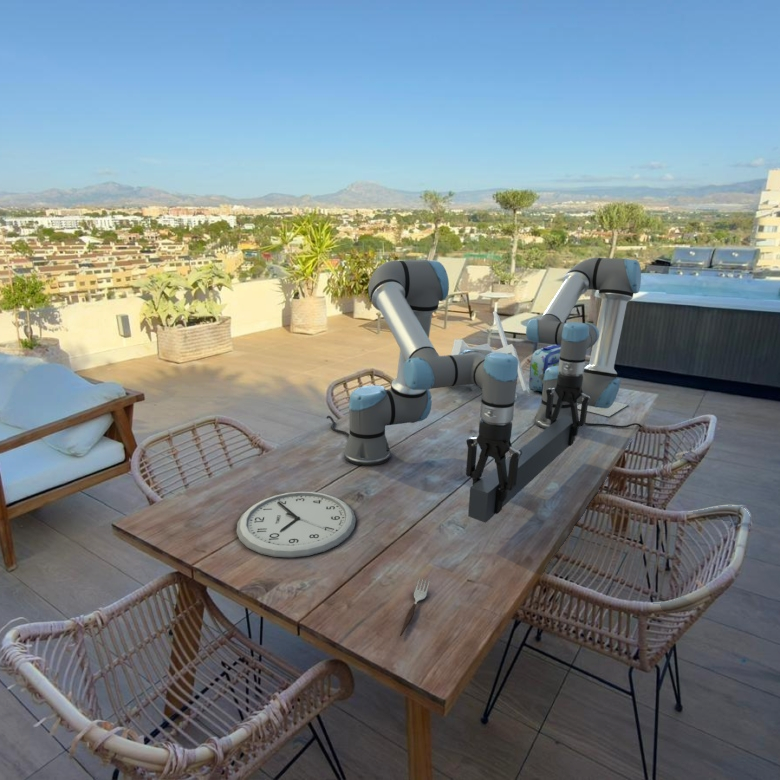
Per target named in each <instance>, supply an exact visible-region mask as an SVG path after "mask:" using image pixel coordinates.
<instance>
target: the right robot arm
mask: <svg viewBox="0 0 780 780" xmlns="http://www.w3.org/2000/svg"><path fill="white" fill-rule="evenodd" d="M641 284H642V269H641V264H640V262H639V261H638V260H637V259H630V258H614V257H612V258H610V257H592V258H588V259H585V260H582V261H580V262H579V263H577V264H575V265H574V266H573V267H571V268H570V269H569V270H568V271H567V272H566V274H565V275H564V277H563V279H562V285H561V286H560V288H559V289H558V291H557V293H556V294H555V296H554V297H553V299H552V300H551V301H550V303H549V304H548V306H547V308H546V310H545V311H544V312H543V314H542V316H541V317H540V318H539V319H538V318H532V319H530V320H529V321H528V322H527V324H526V328H525V336H526V339H527V341H529V342H534V343H538V344H547V345H560V346H561V351H560V359H559V366H553V367H550V368H548V369H546V371H545V375H544V379H543V380H544V382H543V391H542V392H541V393H542V394H541V402H540V405H539V407H538V410H537V411H536V413H535V415H534V424H535V425H536V426H537V427H539V428H542V429H543V430H545V429H546V428H548V427H549V426H550V425H551V424H553V423H554V422H555V421H557V420H558V419H559V418H561V417H562V416H563V415H568V416H572V421H573V425H572V426H570V434H569V442H568V447H571V446H572V445H573V444H574V442H575V441H574V436H576V437H577V436H578V433H579V427H583V426H584V425H585V426H600V427H601V426H604V427H611V428H619V429H620V428H622V429H625V428H628V427H629V428H630V427H632V426H638V427H639V428H643V426H642V425H641V424H640V423H637V422H634V423H630V424H626V425H618V424H617V425H616V424H610V423H609V424H608V423H591V422H587V415H588V411H587V407H588V406H593V407H596V408H597V407H599V408H609V407H610V406H611V405H612V404H613V402H616V401H615V400H616V399H617V396H618V394H619V390H620V385H621V379H620V378H618V377H617V376H618V372H617V371H616V370H615V363H616V359H617V353H618V349H619V344H620V339H621V334H622V329H623V324H624V319H625V314H626V310H627V305H628V302H630V301H631V300H633V298H634V295H636V294H638V293H639V292H640V289H641ZM591 290H594V291H598V294H597V295H598V296H599V298H600V299H601V302H600V307H599V311H598V312H599V313H598V317H597V322H596V325H595V324H593V323H590V322H577V321H571V322H566V320H567V319H568V317H569V316H570V314H571V312H572V311H573V310H574V307H575V306H576V304H577V303H578V301H579V299H580V298H581V296H582V295H584V294H585V293H586V292H587V291H591ZM589 348H591V352H590V357H589V358H590V359H589V362H588V364H587V365H586V356H587V350H588V349H589ZM585 365H586V366H585ZM580 404H582V406H581V410H580V413H579V409H578V408H577V406H578V405H580ZM573 441H574V442H573Z"/></svg>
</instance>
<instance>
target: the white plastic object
mask: <svg viewBox="0 0 780 780" xmlns="http://www.w3.org/2000/svg"><path fill="white" fill-rule="evenodd" d="M492 315H493V319H494V321H495V324H496V325H495V326H496V328H497V332H498V335H499V338H500V342H501V345H502V347H500V348H498V349H496V350H495V349H493V348H492V347H491V346H490V344H489V343H488V342H487V343H483V344H479V345H473V346H469V345H468V343H466V342H465V340H464V339H463V338H460V339H458V338H454V340H453V344H452V349H451V353H450V355H458V354H459V353H461V352H462V351H464V350H468V349H470V350H474V351H479V352H481V353H482V354H484V355H486V356H487V355H488V354H491V353H506V354H510V355H513V356H515V357H516V358H517V360H518V380H519V382H520V385H521V389H522V391H523V393H524V395H525V396H526V397H528V396H531V395H530V389H529V388H528V387H529V386H528V384H527V381H526V378H525V375H524V371H523V369H522V368H523V367H522V366H521V362H520V359H519V355H518V352H517V349H516V347H515V346H514V345H513V343H511V344H508V341H507V337H506V334H505V331H504V328H503V325H502V321H501V318H500V315H499V314H498V312H497V311H496V310H495V311H492ZM515 400H517V392H516V393H515Z"/></svg>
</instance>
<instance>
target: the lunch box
mask: <svg viewBox="0 0 780 780" xmlns="http://www.w3.org/2000/svg"><path fill="white" fill-rule="evenodd" d="M560 351H561V346H560V345H553V344H550V345H547V346H545V347H541V348H539V349H536V350H534V352H533V353H532V355H531V358H530V359H531V360H530V366H529V377H528V379H529V380H528V387H529V390H531V391H536V392H541V393H542V391H543V382H544V380H543V379H544V375H545V371H546V369H548V368H550V367H553V366H559V359H560Z"/></svg>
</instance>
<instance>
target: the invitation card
mask: <svg viewBox="0 0 780 780" xmlns="http://www.w3.org/2000/svg"><path fill="white" fill-rule="evenodd" d="M581 406H582V404H577V408H578V410H580V411H581ZM628 406H629V404H627V403H623V402H618V401H614V402H613V404H612V405H611V406H610V407H609V408H599V407H597V408H596V407H593V406H588V407H587V413H593V414H596V415H600V416H604V417H608V418H609V417H611V416H613V415H614V414H616V413H617V412H619V411H621V410H623V409H624V408H626V407H628Z"/></svg>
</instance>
